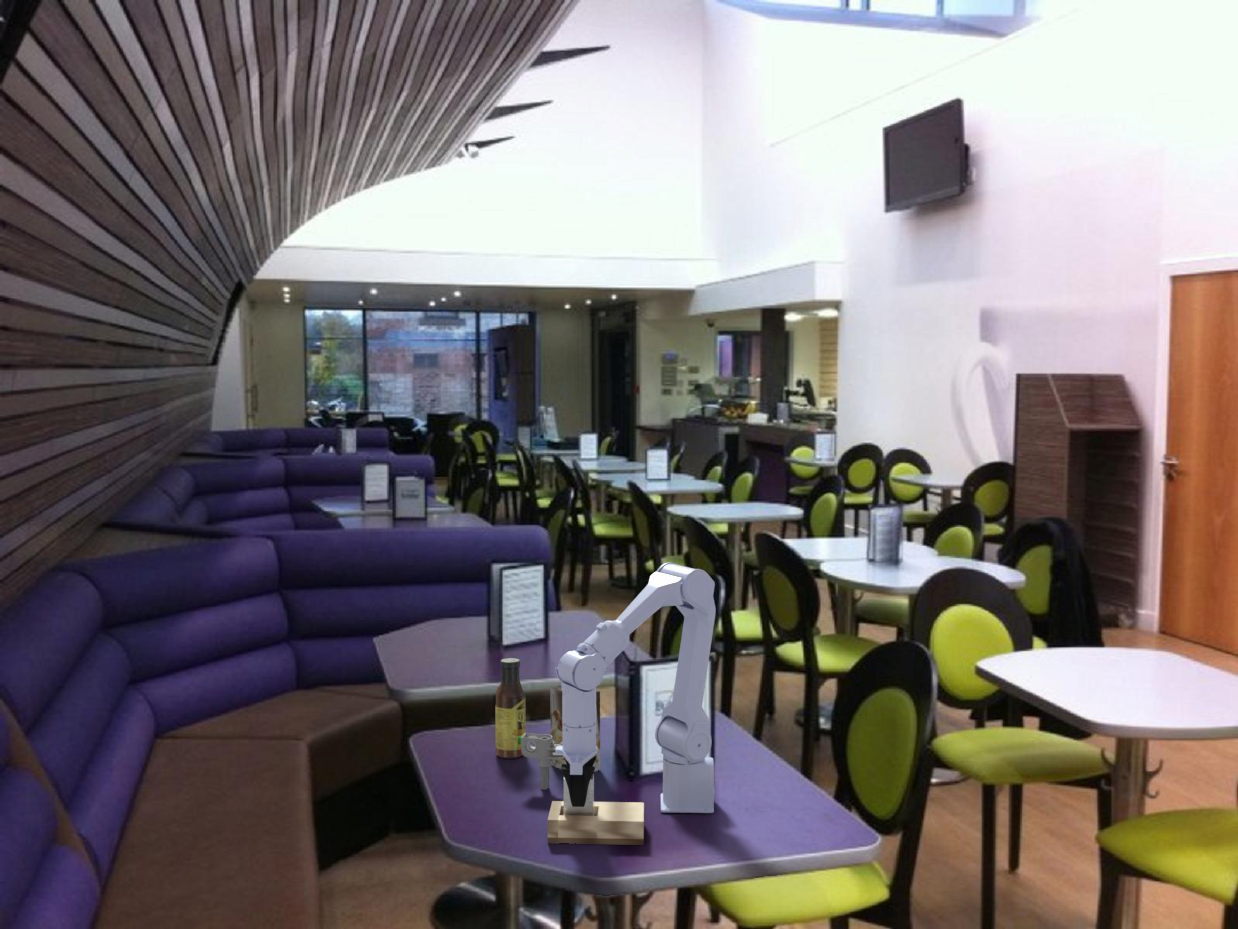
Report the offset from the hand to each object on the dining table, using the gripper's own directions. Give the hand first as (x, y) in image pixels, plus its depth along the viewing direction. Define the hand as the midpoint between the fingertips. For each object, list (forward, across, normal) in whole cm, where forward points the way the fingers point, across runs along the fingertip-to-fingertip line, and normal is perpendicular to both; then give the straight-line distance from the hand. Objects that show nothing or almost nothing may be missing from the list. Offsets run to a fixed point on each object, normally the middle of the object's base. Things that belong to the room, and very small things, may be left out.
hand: (579, 801), depth 176 cm
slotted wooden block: (+6, 0, +3) cm, 6 cm away
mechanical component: (+6, -20, -8) cm, 22 cm away
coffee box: (+6, -31, -3) cm, 32 cm away
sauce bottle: (+6, -38, -17) cm, 42 cm away
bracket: (+5, 0, 0) cm, 5 cm away
